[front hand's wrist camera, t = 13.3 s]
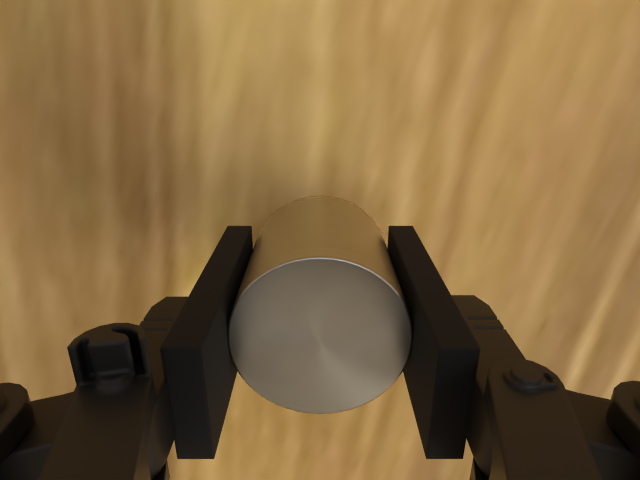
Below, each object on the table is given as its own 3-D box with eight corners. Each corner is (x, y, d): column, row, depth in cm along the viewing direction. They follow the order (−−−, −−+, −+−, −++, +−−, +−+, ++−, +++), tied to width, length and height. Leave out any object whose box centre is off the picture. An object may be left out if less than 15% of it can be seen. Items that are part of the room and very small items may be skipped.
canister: (362, 328, 16) (378, 430, 12) (242, 298, 15) (211, 393, 11) (404, 215, 14) (441, 285, 10) (271, 179, 14) (248, 235, 10)
